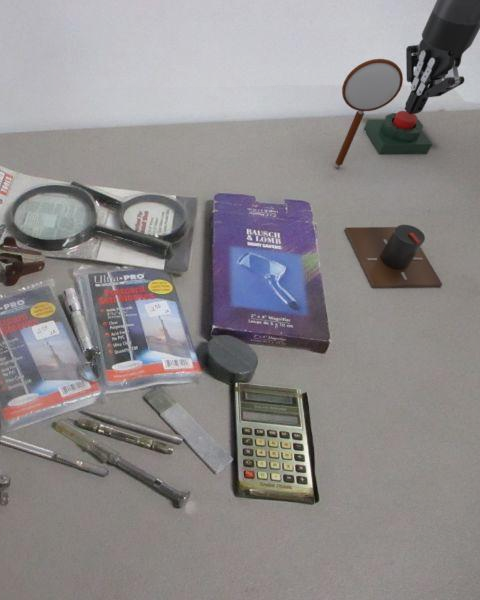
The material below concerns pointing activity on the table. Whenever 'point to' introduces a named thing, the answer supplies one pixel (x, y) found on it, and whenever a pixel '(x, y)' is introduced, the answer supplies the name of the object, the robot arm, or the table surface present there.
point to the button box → (397, 137)
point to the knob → (402, 246)
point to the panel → (379, 274)
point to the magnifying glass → (368, 93)
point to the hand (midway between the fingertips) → (411, 111)
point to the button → (405, 120)
